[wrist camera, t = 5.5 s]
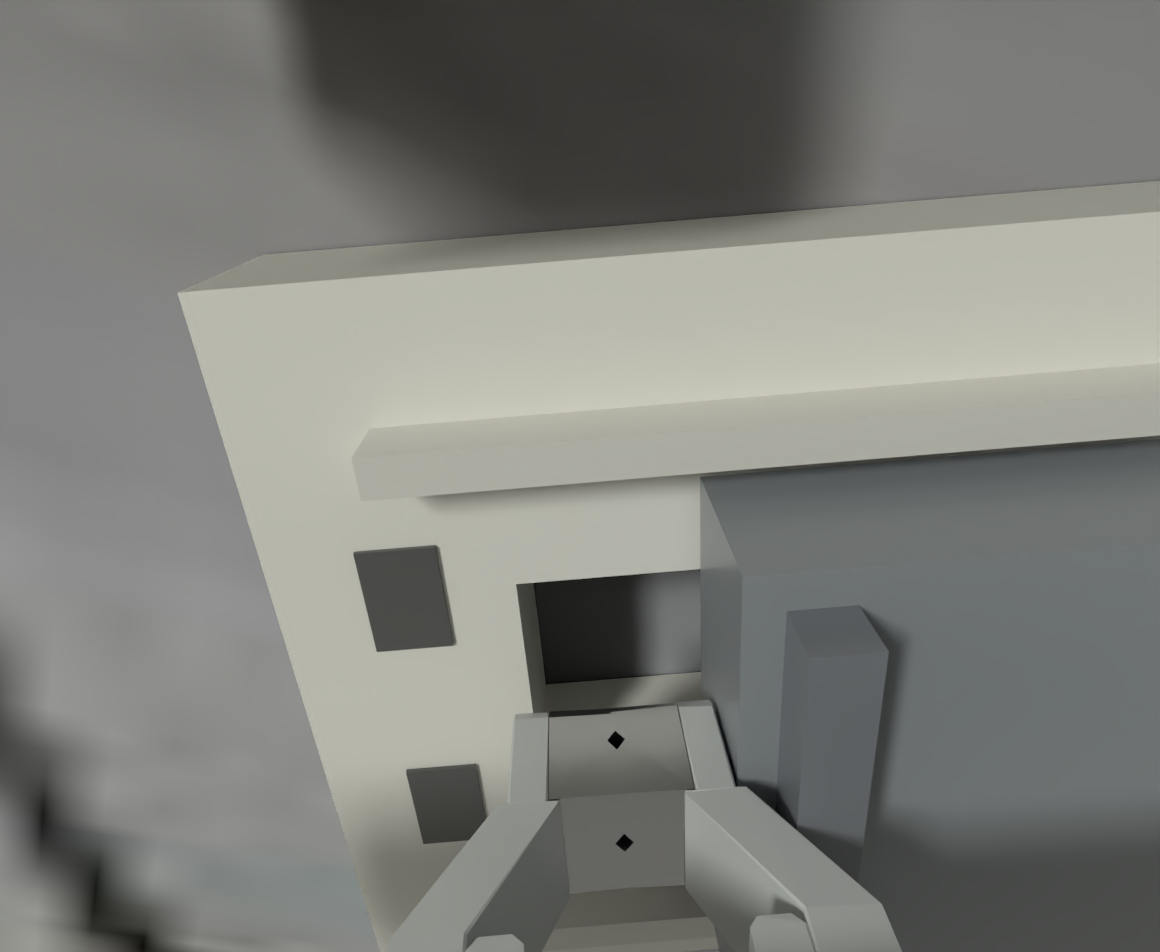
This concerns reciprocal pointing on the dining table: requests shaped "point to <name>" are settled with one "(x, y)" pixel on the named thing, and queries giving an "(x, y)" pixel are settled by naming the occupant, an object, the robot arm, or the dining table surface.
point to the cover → (952, 684)
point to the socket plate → (615, 451)
